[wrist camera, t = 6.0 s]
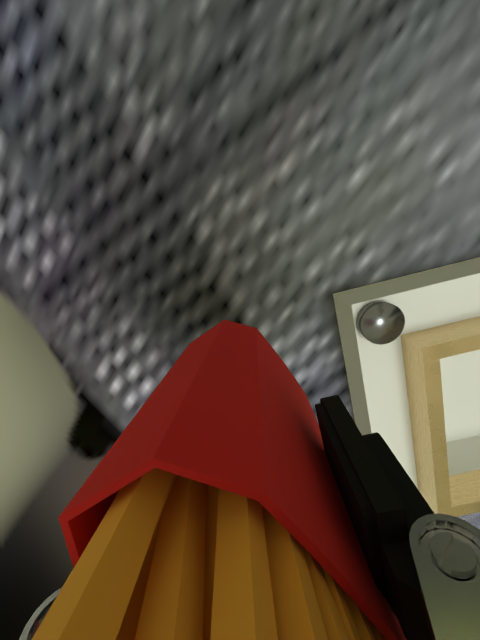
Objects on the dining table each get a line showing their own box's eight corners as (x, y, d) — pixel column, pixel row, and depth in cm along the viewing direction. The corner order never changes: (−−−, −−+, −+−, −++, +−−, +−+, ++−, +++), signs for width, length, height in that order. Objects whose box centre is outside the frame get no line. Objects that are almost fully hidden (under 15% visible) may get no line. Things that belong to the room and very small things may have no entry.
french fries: (159, 340, 13) (-413, 1142, 2) (232, 288, 12) (125, 1049, 1) (268, 467, 15) (352, 1218, 4) (336, 429, 14) (701, 1211, 3)
